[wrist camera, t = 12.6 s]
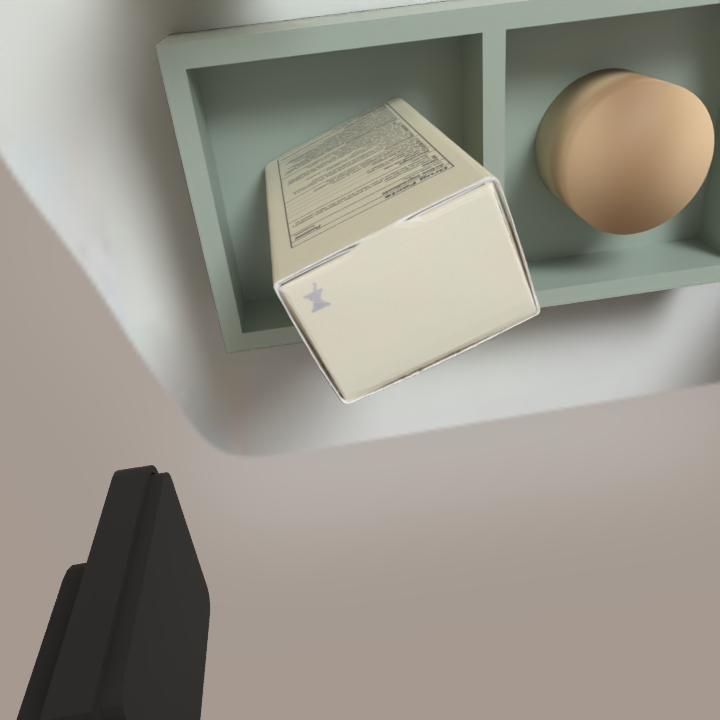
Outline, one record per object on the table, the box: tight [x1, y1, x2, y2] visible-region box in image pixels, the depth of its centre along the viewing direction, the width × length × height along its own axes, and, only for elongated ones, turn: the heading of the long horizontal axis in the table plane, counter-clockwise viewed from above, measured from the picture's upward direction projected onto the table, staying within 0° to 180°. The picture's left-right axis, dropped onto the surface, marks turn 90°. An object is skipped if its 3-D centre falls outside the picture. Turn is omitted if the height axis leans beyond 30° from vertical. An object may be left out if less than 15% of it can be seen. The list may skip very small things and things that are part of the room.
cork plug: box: [535, 68, 714, 235], centre depth 27 cm, size 6×6×4 cm
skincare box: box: [265, 97, 540, 404], centre depth 23 cm, size 6×4×12 cm
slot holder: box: [155, 0, 720, 353], centre depth 27 cm, size 22×12×4 cm, turn 96°
